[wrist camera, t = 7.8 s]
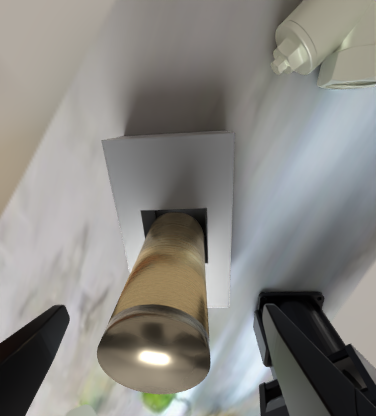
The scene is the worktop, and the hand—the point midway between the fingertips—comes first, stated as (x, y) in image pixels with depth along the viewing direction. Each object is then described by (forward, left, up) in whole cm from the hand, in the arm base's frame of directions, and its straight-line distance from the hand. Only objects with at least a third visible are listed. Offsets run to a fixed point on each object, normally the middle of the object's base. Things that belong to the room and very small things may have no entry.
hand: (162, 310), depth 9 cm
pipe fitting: (-10, -13, -11) cm, 20 cm away
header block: (0, 0, -10) cm, 10 cm away
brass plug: (0, 0, -7) cm, 7 cm away
